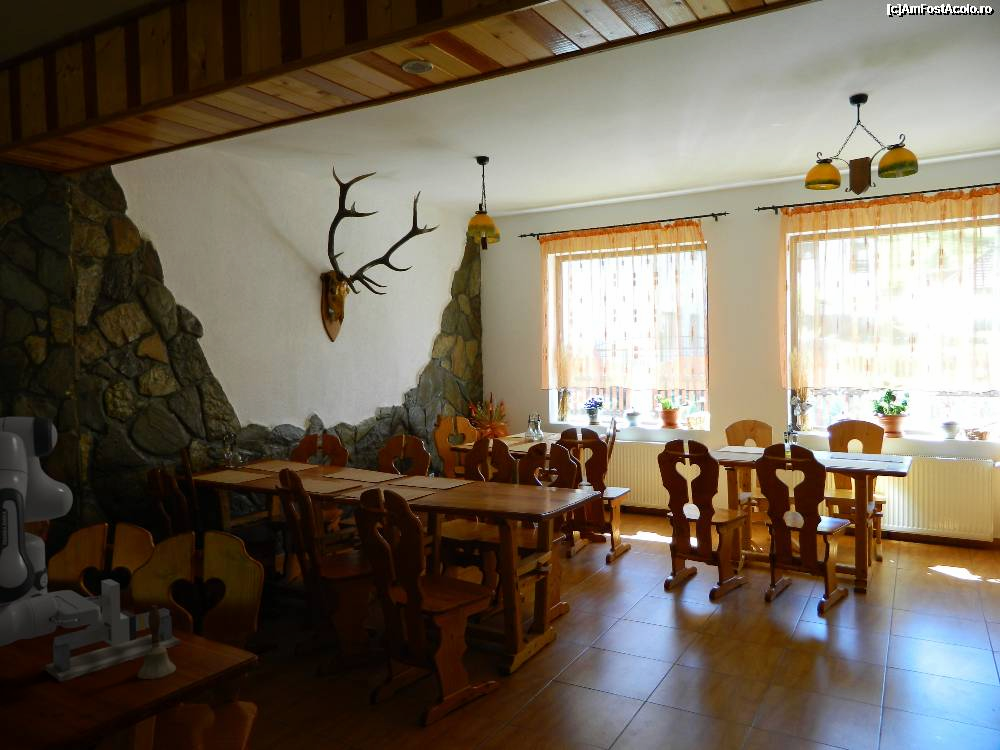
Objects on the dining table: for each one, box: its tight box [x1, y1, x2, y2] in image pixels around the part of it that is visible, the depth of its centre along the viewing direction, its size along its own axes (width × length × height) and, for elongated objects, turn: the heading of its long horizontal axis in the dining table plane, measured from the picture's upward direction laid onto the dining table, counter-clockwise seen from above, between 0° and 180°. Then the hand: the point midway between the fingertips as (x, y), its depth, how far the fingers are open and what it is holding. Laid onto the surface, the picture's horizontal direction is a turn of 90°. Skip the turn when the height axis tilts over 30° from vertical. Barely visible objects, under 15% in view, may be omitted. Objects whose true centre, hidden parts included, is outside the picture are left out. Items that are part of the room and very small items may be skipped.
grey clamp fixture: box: [52, 607, 173, 672], centre depth 181 cm, size 26×5×7 cm, turn 139°
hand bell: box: [137, 604, 177, 680], centre depth 172 cm, size 8×8×16 cm
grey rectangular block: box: [100, 578, 130, 646], centre depth 181 cm, size 4×6×15 cm, turn 49°
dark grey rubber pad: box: [120, 609, 137, 641], centre depth 184 cm, size 2×6×6 cm, turn 49°
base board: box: [45, 633, 181, 683], centre depth 181 cm, size 28×10×1 cm, turn 139°
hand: (106, 599), depth 180 cm, fingers closed, pressing on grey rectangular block
